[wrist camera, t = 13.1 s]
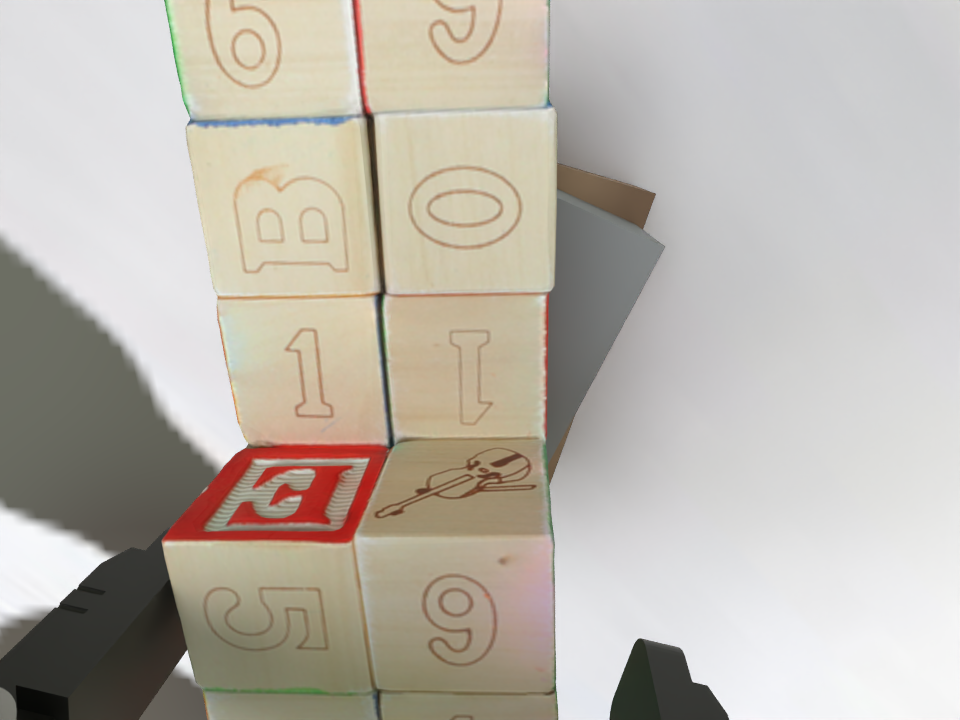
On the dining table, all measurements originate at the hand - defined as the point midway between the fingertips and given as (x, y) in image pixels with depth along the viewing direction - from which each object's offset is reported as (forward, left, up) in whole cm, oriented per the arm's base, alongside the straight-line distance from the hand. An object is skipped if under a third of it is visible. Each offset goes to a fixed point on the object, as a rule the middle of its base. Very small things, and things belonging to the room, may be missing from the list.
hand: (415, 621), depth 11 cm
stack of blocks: (+1, -1, -11) cm, 11 cm away
